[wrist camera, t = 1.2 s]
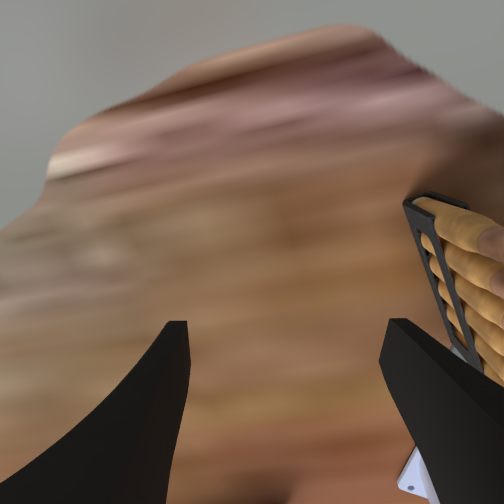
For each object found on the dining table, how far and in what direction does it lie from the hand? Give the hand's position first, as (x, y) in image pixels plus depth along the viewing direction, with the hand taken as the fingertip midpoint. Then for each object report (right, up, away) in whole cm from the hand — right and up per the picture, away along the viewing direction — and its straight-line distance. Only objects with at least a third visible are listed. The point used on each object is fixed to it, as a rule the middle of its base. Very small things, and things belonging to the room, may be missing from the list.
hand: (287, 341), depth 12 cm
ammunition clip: (+11, +2, +10) cm, 16 cm away
